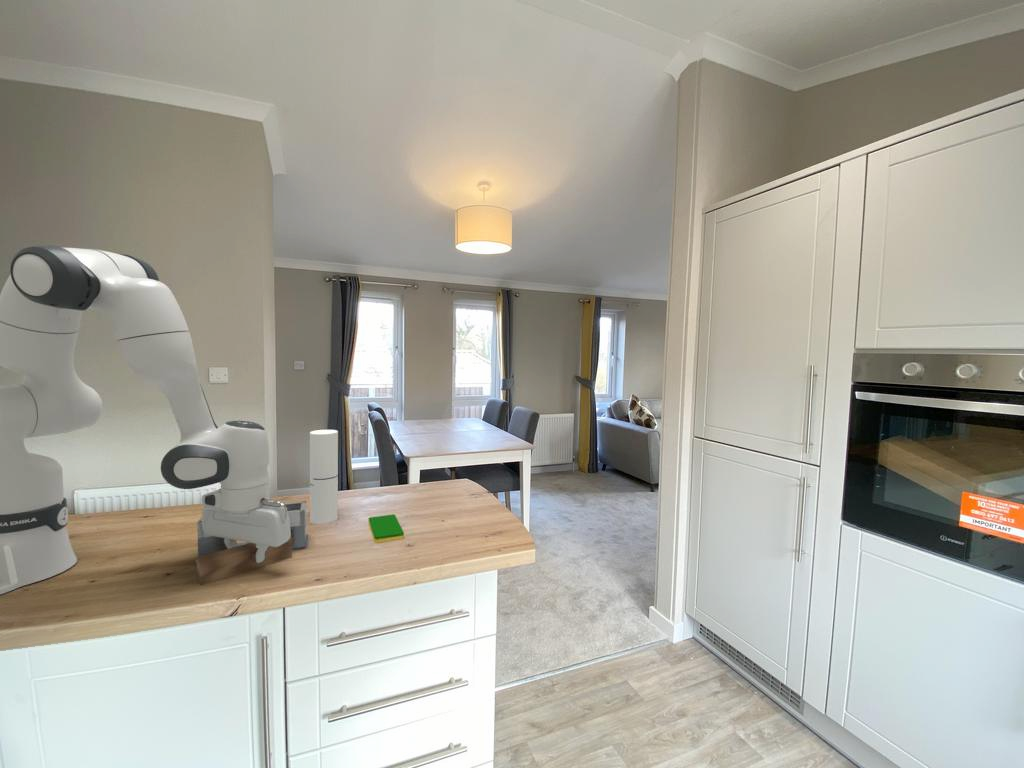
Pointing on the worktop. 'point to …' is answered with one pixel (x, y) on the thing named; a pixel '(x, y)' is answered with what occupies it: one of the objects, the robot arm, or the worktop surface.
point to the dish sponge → (385, 528)
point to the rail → (237, 561)
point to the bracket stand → (217, 543)
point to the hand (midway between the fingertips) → (246, 559)
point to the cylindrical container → (323, 476)
